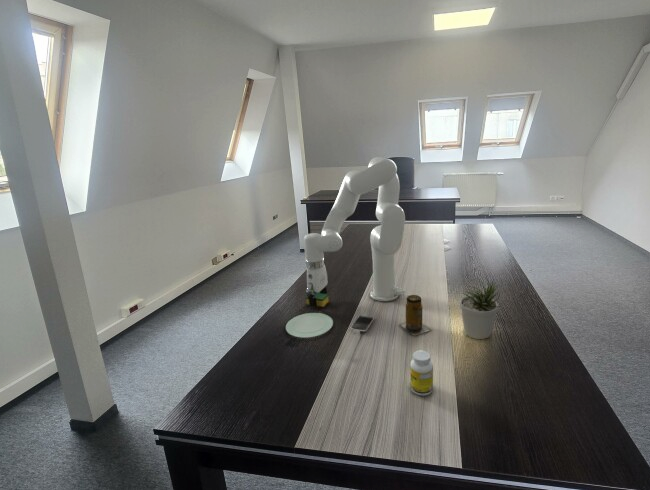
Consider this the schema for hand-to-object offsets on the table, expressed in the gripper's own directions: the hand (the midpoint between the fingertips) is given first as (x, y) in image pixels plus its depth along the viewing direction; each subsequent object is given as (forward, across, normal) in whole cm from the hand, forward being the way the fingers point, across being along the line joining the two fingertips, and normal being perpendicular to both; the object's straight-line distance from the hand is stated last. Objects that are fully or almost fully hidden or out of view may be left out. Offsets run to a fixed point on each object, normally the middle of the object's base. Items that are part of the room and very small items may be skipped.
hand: (318, 300), depth 154 cm
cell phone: (+2, -10, -24) cm, 26 cm away
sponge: (+2, 0, 0) cm, 2 cm away
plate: (+2, -17, -5) cm, 18 cm away
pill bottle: (+2, -37, -52) cm, 64 cm away
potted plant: (+2, -3, -65) cm, 65 cm away
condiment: (+2, -6, -43) cm, 43 cm away
